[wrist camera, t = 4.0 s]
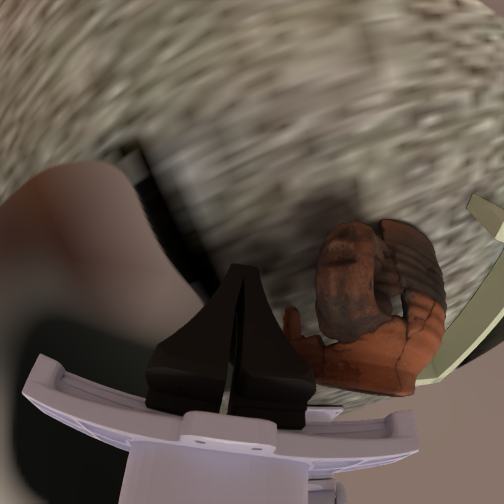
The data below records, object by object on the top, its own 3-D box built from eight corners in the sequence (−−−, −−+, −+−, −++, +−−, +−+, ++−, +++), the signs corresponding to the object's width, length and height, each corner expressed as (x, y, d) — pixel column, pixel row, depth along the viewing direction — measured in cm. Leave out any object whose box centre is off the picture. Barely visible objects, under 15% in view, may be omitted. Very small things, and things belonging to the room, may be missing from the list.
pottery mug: (446, 282, 16) (432, 401, 12) (330, 283, 22) (305, 383, 18) (435, 144, 8) (442, 389, 4) (242, 181, 14) (179, 338, 11)
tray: (429, 356, 20) (437, 382, 18) (370, 356, 20) (376, 387, 18) (525, 222, 11) (548, 247, 9) (473, 193, 11) (503, 221, 9)
